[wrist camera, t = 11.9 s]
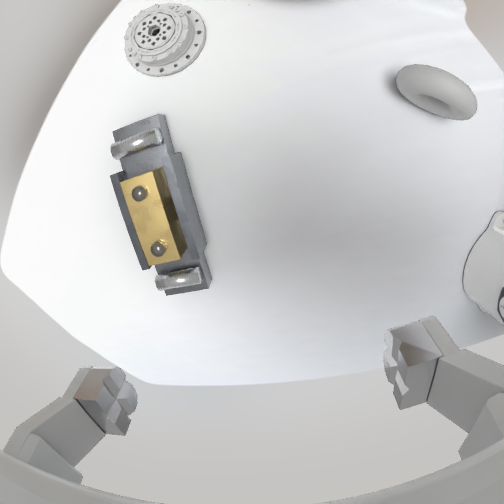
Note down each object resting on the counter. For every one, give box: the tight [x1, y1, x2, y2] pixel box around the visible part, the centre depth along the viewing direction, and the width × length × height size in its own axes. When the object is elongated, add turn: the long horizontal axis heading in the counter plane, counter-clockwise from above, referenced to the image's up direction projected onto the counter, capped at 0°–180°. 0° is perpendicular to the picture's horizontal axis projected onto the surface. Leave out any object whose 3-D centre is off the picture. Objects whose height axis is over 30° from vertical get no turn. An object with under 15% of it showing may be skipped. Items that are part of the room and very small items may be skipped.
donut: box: [396, 64, 477, 120], centre depth 24 cm, size 10×3×10 cm, turn 74°
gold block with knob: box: [120, 167, 188, 266], centre depth 32 cm, size 4×10×4 cm, turn 13°
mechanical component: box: [124, 3, 206, 76], centre depth 26 cm, size 10×4×10 cm
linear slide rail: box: [110, 114, 212, 296], centre depth 34 cm, size 8×22×4 cm, turn 13°
